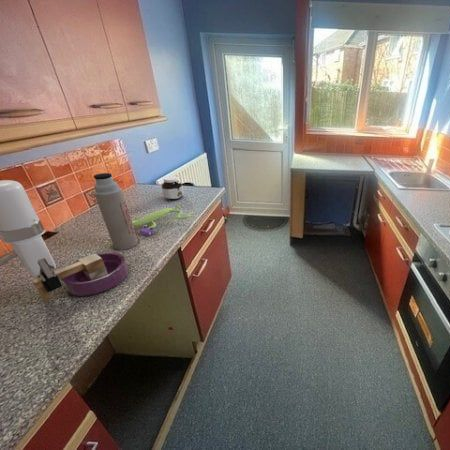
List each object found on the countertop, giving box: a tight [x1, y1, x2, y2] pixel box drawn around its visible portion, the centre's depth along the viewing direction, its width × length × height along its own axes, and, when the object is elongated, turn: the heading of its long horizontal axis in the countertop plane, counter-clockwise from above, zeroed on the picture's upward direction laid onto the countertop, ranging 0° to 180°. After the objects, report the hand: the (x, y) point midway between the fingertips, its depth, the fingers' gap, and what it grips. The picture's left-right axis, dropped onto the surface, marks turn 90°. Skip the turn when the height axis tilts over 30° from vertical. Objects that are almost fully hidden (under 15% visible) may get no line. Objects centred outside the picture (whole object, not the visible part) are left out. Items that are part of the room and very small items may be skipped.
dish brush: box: [31, 252, 108, 303], centre depth 74 cm, size 15×5×7 cm, turn 147°
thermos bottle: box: [93, 172, 139, 251], centre depth 91 cm, size 8×8×28 cm
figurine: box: [131, 204, 196, 236], centre depth 112 cm, size 18×27×6 cm
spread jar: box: [161, 175, 185, 201], centre depth 139 cm, size 12×11×12 cm
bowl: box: [61, 252, 129, 297], centre depth 78 cm, size 16×16×5 cm
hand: (52, 286), depth 70 cm, fingers closed on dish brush
